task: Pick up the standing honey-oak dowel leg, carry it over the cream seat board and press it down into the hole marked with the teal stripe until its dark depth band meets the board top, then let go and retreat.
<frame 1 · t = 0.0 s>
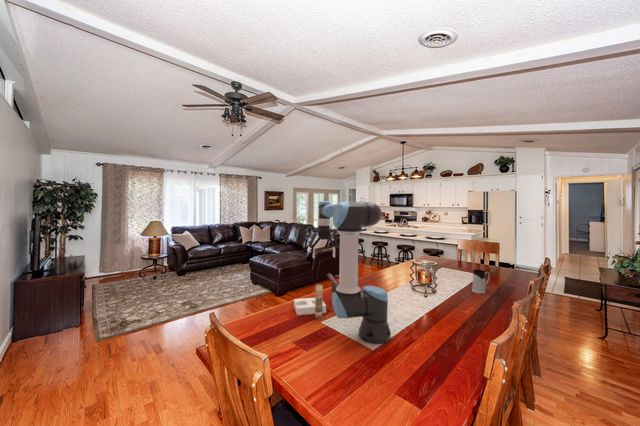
hand: (323, 257, 172), 28 cm above the table, fingers open, 13 cm apart
mortar and pestle: (336, 304, 167), on the table
grey mug: (481, 291, 193), on the table
seat board: (309, 309, 159), on the table
leg peg: (318, 317, 148), on the table
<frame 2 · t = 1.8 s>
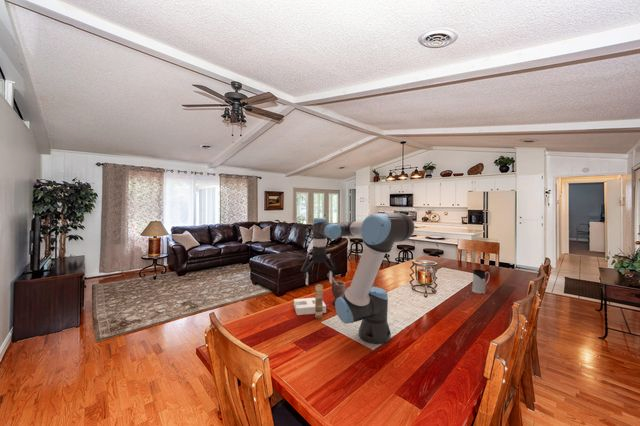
hand: (318, 283, 147), 19 cm above the table, fingers open, 13 cm apart
nothing on the table moved.
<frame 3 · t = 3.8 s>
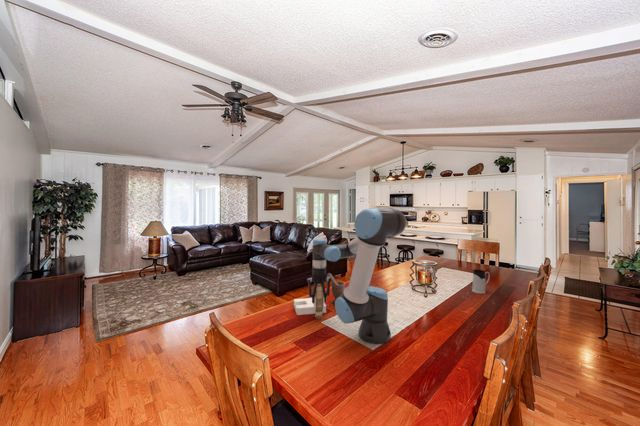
hand: (318, 308, 147), 5 cm above the table, fingers closed on leg peg, 4 cm apart
leg peg: (318, 317, 148), on the table, touching gripper
everything else where it was.
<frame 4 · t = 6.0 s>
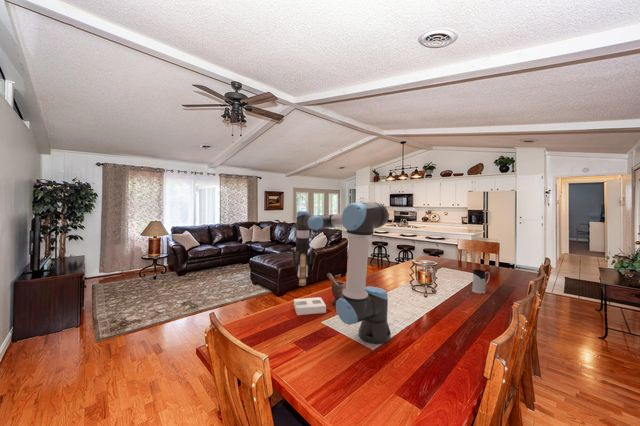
hand: (302, 276, 157), 20 cm above the table, fingers closed on leg peg, 4 cm apart
leg peg: (302, 284, 157), point 15 cm above the table, touching gripper
everything else where it was.
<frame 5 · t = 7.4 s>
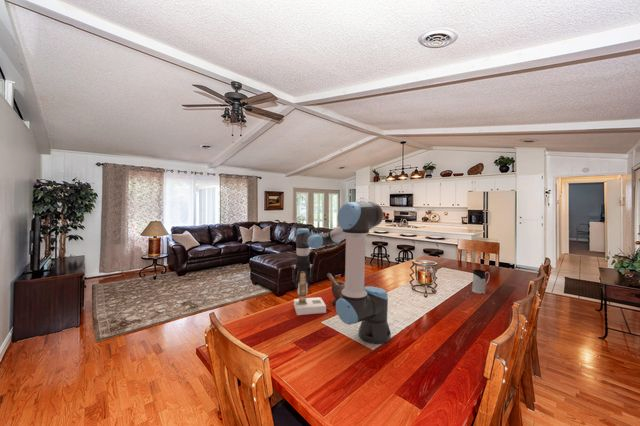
hand: (302, 293, 157), 10 cm above the table, fingers closed on leg peg, 4 cm apart
leg peg: (302, 301, 158), point 5 cm above the table, touching gripper
everything else where it was.
when the fingers open (6 cm above the table, at t = 8.3 s): leg peg stays where it is, resting in seat board.
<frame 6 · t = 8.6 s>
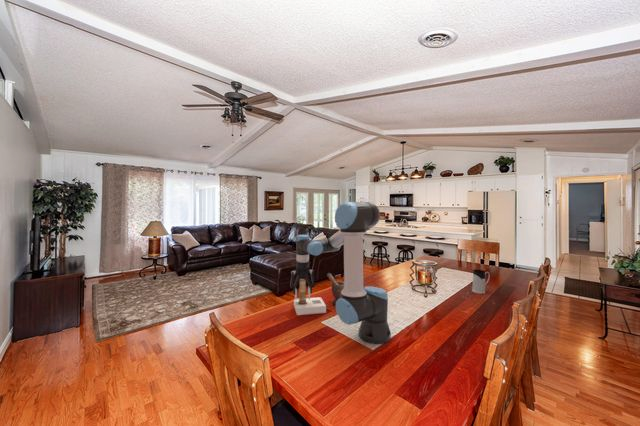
hand: (302, 299, 157), 6 cm above the table, fingers open, 7 cm apart
leg peg: (302, 309, 158), resting in seat board
everything else where it was.
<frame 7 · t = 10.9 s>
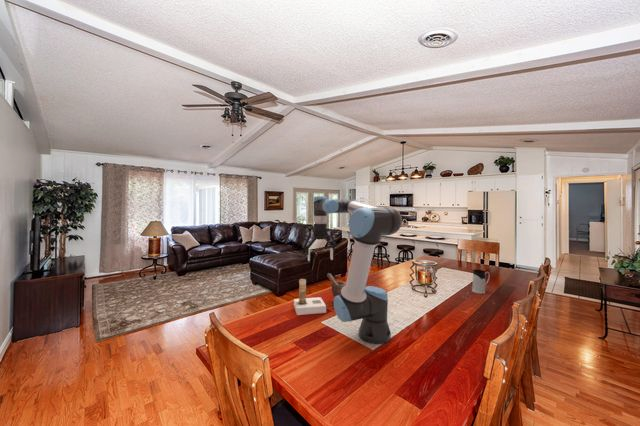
hand: (320, 260, 152), 31 cm above the table, fingers open, 13 cm apart
nothing on the table moved.
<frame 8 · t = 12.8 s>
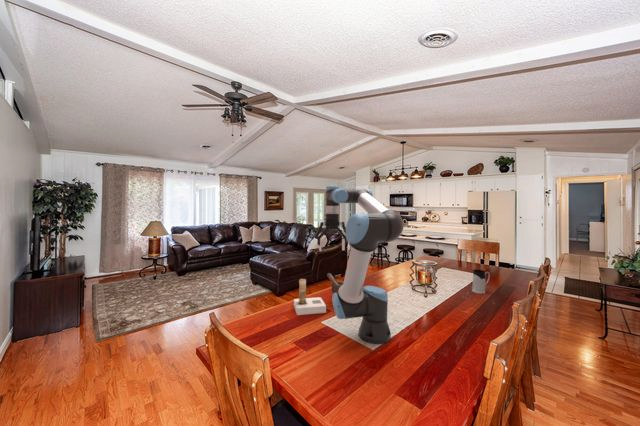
hand: (331, 250, 150), 37 cm above the table, fingers open, 13 cm apart
nothing on the table moved.
at the end: leg peg 0.0 cm from the target spot on the seat board, point 0.0 cm above the seat board's base; leg peg tilted 0°; the gripper is holding nothing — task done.
